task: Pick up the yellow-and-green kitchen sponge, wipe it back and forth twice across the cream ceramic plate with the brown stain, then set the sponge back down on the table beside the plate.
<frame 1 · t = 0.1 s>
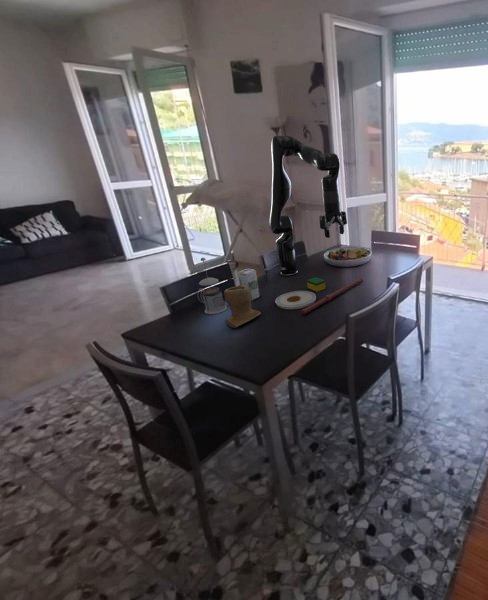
hand: (334, 235, 168), 29 cm above the table, tool pointing down, fingers open, 8 cm apart
plate: (296, 300, 172), on the table
rolling pin: (335, 297, 175), on the table
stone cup: (242, 320, 154), on the table
french press: (214, 310, 164), on the table
bowl: (348, 261, 226), on the table
sponge: (316, 288, 186), on the table
white canister: (252, 298, 176), on the table
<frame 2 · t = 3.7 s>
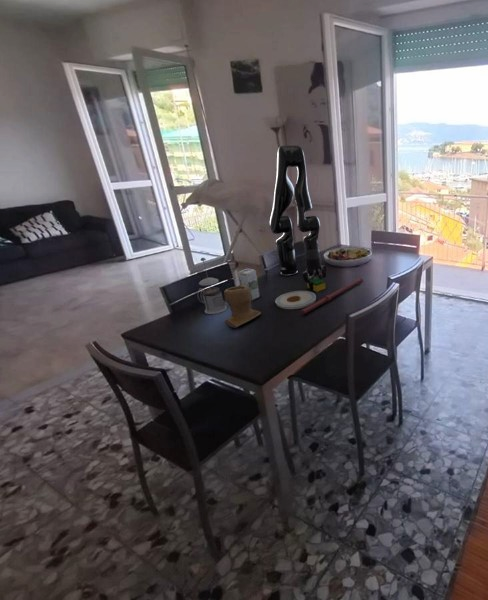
hand: (316, 287, 185), 1 cm above the table, tool pointing down, fingers closed on sponge, 5 cm apart
sponge: (316, 288, 186), on the table, touching gripper
everything else where it was.
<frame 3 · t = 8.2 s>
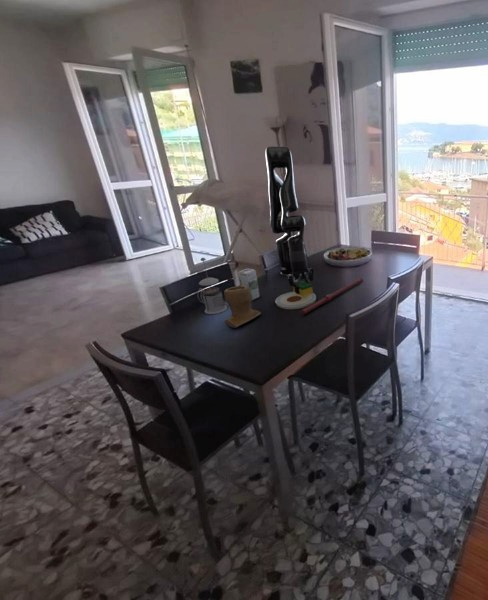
hand: (303, 291, 173), 3 cm above the table, tool pointing down, fingers closed on sponge, 5 cm apart
sponge: (303, 292, 173), point 3 cm above the table, touching gripper
everything else where it was.
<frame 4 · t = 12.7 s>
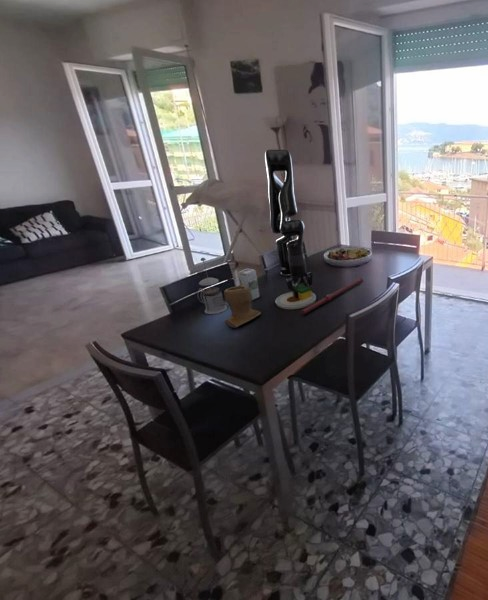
hand: (302, 295, 173), 2 cm above the table, tool pointing down, fingers closed on sponge, 5 cm apart
sponge: (302, 296, 174), point 1 cm above the table, touching gripper
everything else where it was.
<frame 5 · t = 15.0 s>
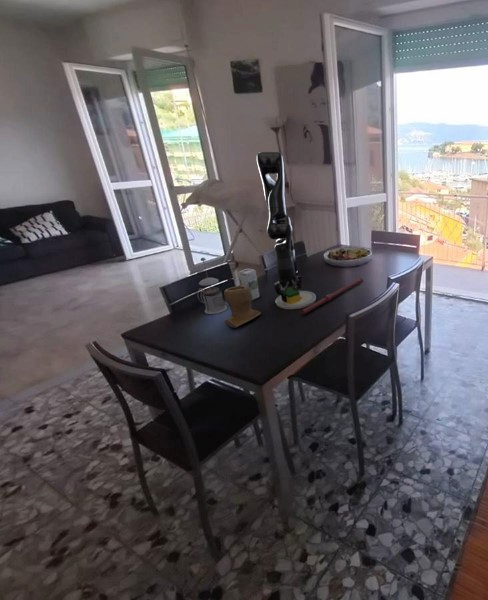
hand: (290, 299, 169), 2 cm above the table, tool pointing down, fingers closed on sponge, 5 cm apart
sponge: (290, 300, 169), point 1 cm above the table, touching gripper
everything else where it was.
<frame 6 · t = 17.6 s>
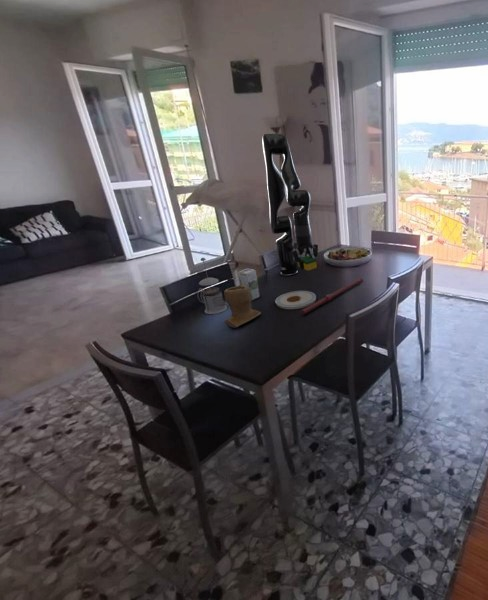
hand: (307, 267, 176), 13 cm above the table, tool pointing down, fingers closed on sponge, 5 cm apart
sponge: (307, 267, 176), point 13 cm above the table, touching gripper
everything else where it was.
when the fingers open (0 cm above the table, at t = 21.6 s): sponge stays where it is, on the table.
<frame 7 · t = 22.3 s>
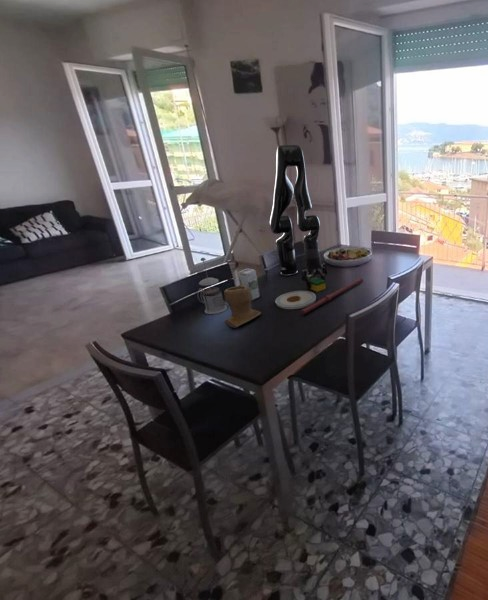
hand: (316, 285, 185), 1 cm above the table, tool pointing down, fingers open, 8 cm apart
sponge: (317, 288, 186), on the table
everything else where it was.
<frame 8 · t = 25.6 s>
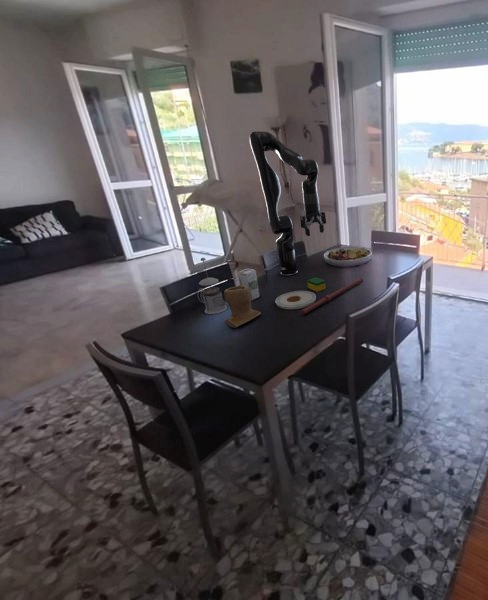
hand: (315, 234, 185), 26 cm above the table, tool pointing down, fingers open, 8 cm apart
nothing on the table moved.
at the end: sponge inside the target area (0.3 cm from its centre), on the table; sponge tilted 0°; the gripper is holding nothing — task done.
